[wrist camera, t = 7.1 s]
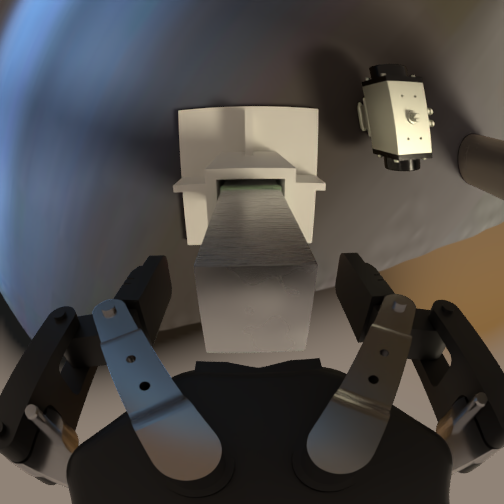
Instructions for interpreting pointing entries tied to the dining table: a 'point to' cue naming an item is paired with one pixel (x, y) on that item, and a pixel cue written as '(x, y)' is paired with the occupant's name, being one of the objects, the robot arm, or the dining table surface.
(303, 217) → the stand base
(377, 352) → the robot arm
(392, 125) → the pneumatic valve
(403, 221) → the dining table surface
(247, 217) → the column
